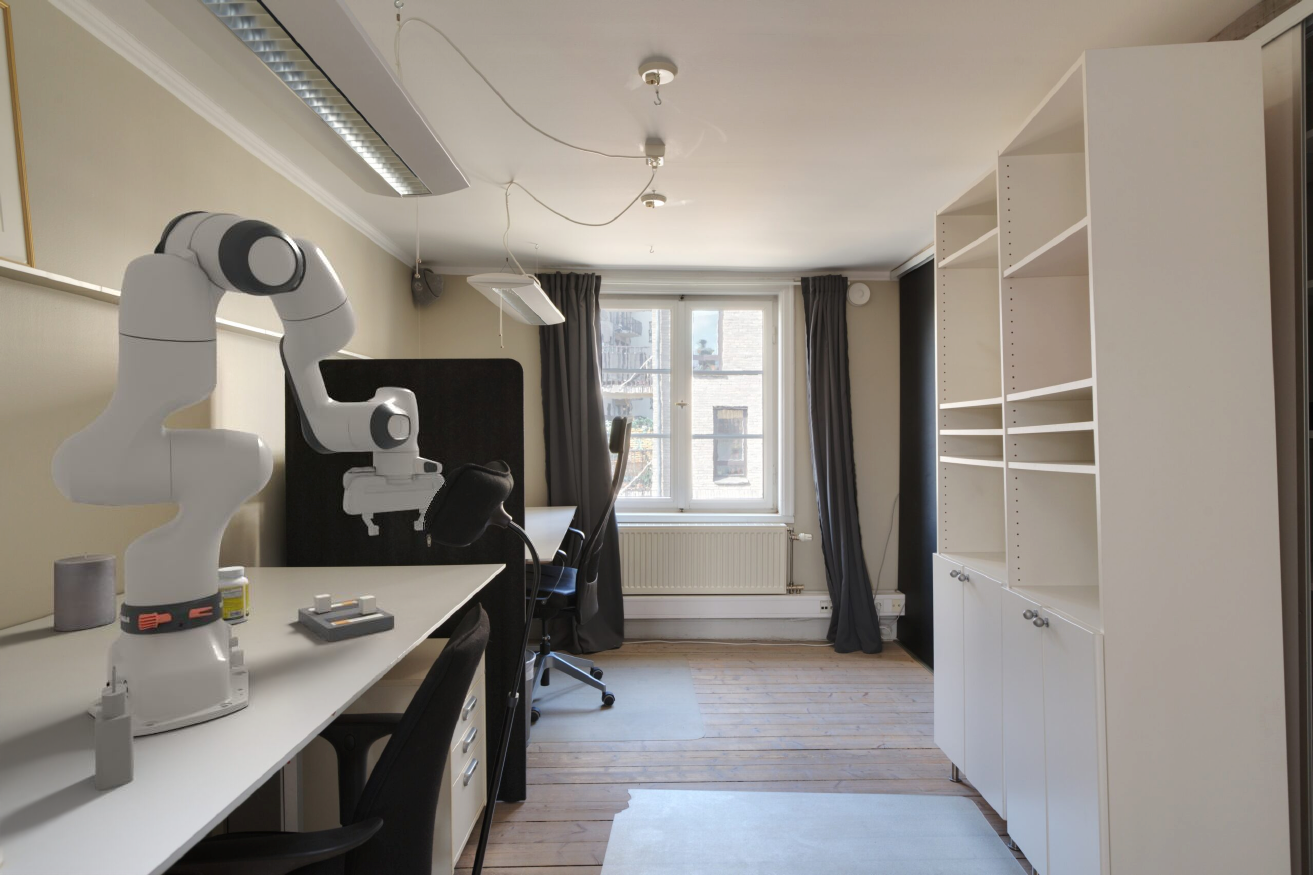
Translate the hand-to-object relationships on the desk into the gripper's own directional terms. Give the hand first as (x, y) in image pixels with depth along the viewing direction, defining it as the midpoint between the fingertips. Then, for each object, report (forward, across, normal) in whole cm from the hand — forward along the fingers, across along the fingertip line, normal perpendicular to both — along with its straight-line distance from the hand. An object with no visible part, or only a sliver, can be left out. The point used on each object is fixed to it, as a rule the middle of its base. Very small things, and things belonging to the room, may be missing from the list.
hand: (397, 532), depth 133 cm
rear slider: (+15, -12, +8) cm, 21 cm away
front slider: (+15, -6, 0) cm, 17 cm away
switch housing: (+18, -9, +4) cm, 21 cm away
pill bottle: (+19, -25, +23) cm, 39 cm away
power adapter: (+17, -47, -42) cm, 65 cm away
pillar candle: (+19, -48, +43) cm, 67 cm away
